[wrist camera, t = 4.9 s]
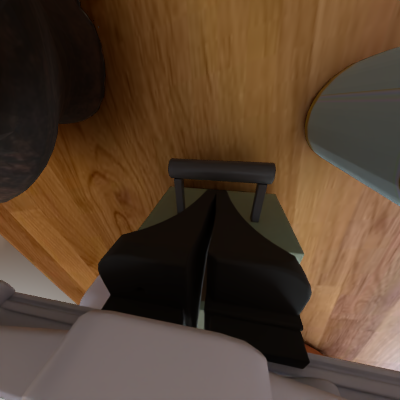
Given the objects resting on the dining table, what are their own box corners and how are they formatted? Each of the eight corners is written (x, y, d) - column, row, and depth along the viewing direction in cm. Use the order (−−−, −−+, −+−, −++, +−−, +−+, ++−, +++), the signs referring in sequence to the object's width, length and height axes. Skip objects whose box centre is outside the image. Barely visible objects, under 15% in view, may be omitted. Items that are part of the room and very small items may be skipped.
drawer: (165, 143, 16) (116, 172, 9) (288, 147, 14) (339, 185, 7) (179, 262, 25) (160, 319, 18) (253, 273, 23) (262, 340, 17)
